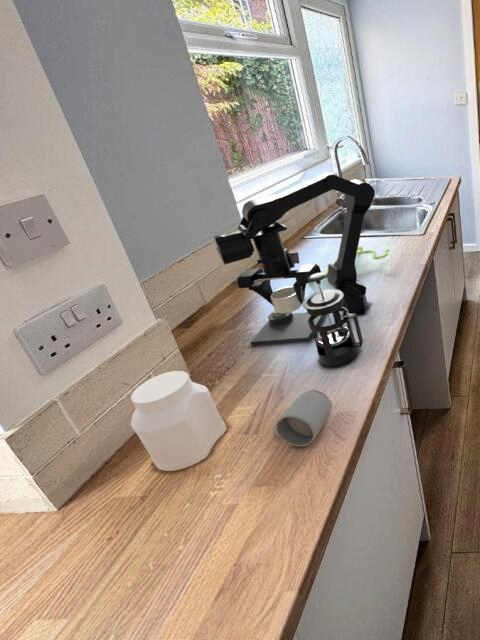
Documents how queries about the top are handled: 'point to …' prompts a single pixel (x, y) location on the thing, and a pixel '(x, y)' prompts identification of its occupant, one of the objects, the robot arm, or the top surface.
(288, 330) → the scale
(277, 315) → the button
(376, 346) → the top surface
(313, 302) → the french press
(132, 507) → the top surface
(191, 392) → the jar
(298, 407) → the ceramic mug
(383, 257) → the figurine
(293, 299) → the cup
